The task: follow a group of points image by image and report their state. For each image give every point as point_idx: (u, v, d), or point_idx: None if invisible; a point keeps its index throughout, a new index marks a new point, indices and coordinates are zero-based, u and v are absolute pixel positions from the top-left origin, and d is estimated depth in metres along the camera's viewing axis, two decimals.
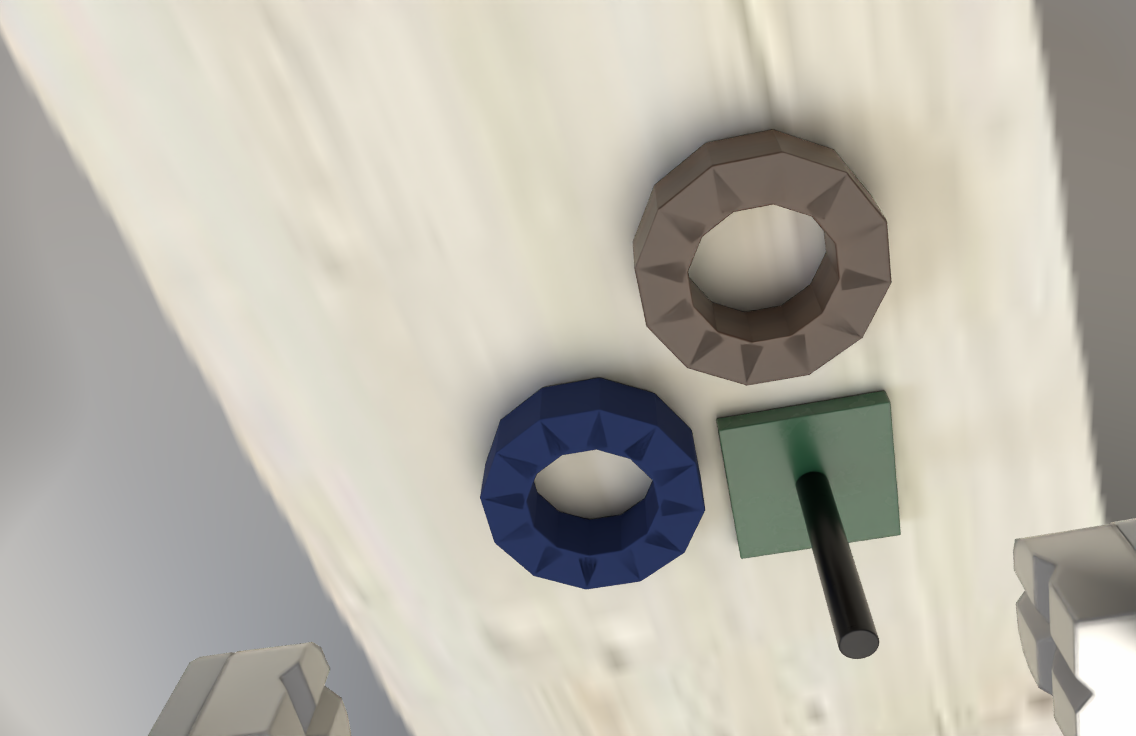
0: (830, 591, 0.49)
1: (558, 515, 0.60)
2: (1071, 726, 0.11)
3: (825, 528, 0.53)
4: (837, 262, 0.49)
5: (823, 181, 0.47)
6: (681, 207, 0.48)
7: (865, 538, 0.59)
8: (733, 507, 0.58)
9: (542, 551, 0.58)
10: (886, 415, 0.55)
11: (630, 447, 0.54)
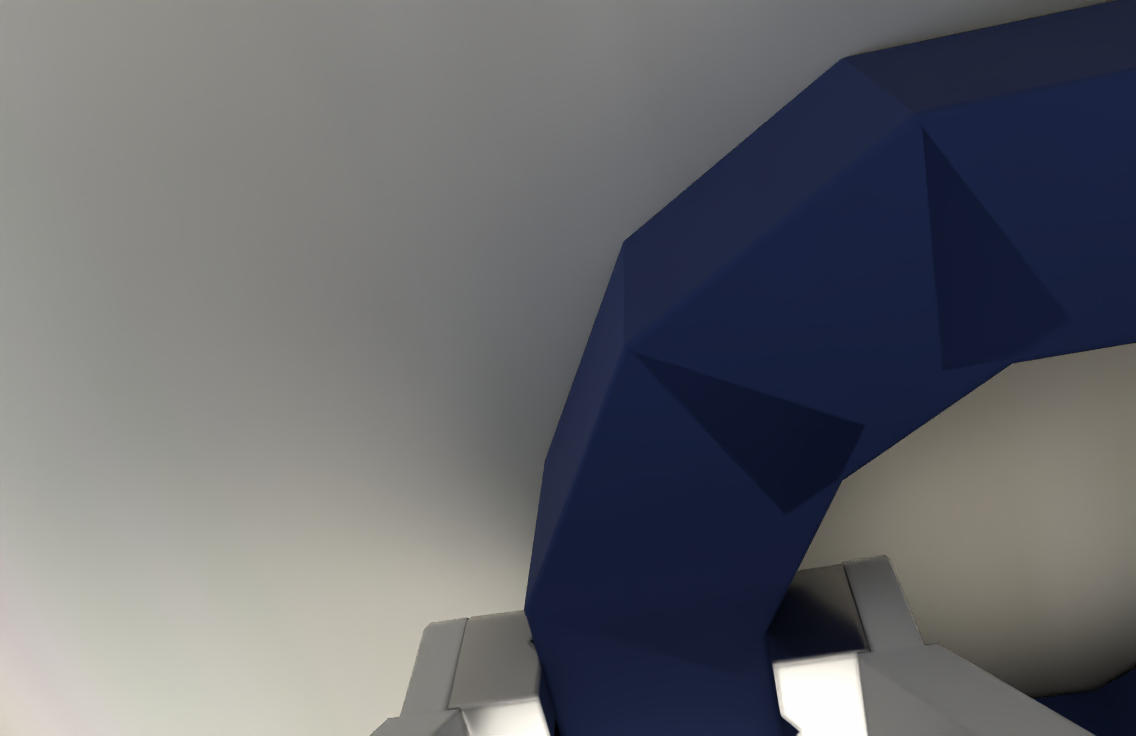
0: None
1: None
2: None
3: None
4: None
5: None
6: None
7: None
8: None
9: None
10: None
11: None
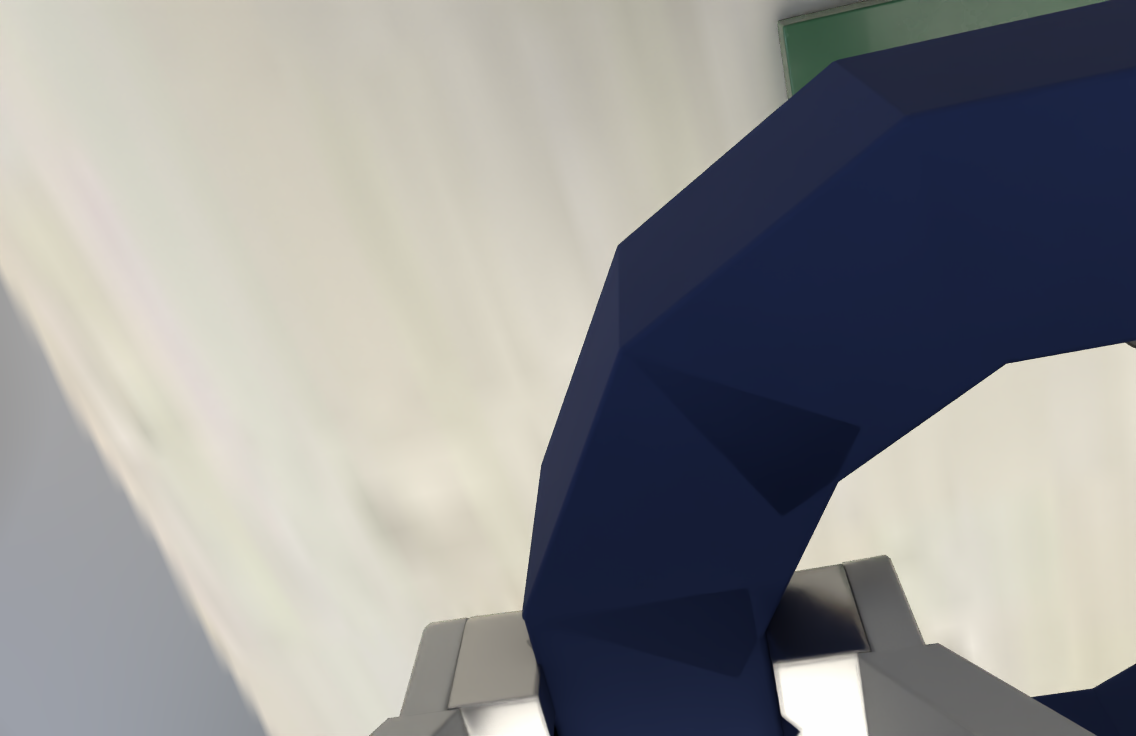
0: None
1: None
2: None
3: None
4: None
5: None
6: None
7: None
8: None
9: None
10: None
11: None
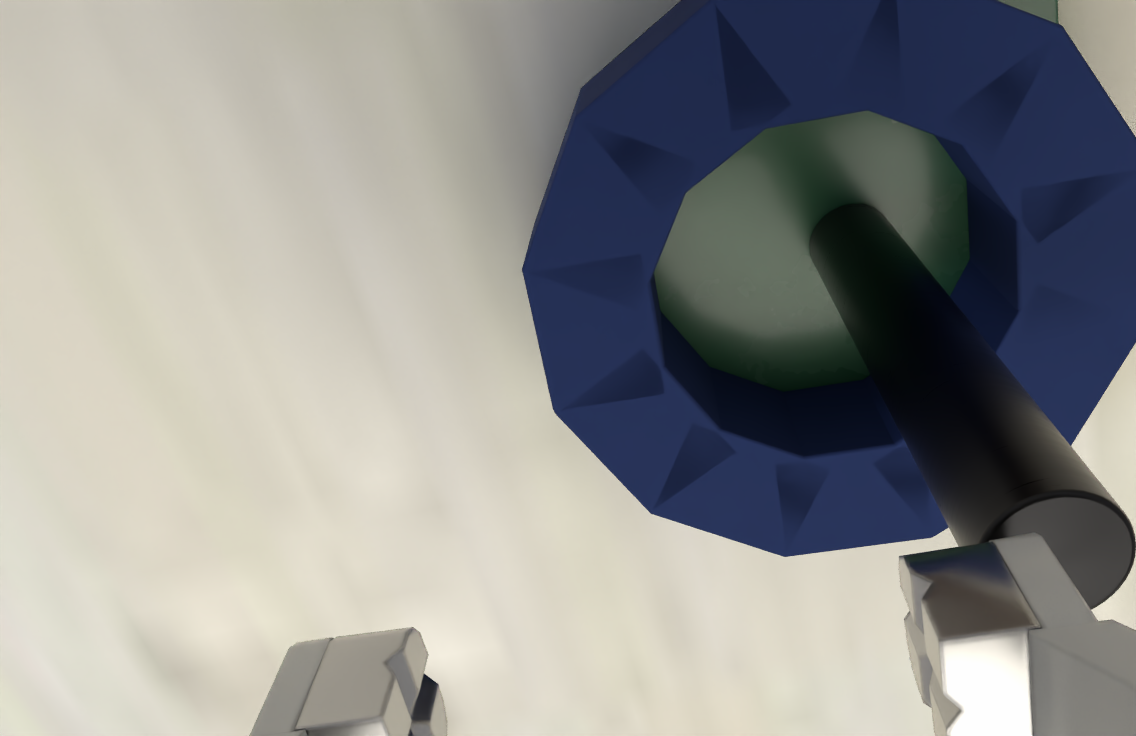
0: (926, 407, 0.15)
1: (709, 371, 0.24)
2: None
3: (895, 280, 0.18)
4: None
5: None
6: None
7: None
8: None
9: (679, 441, 0.22)
10: None
11: (969, 103, 0.19)
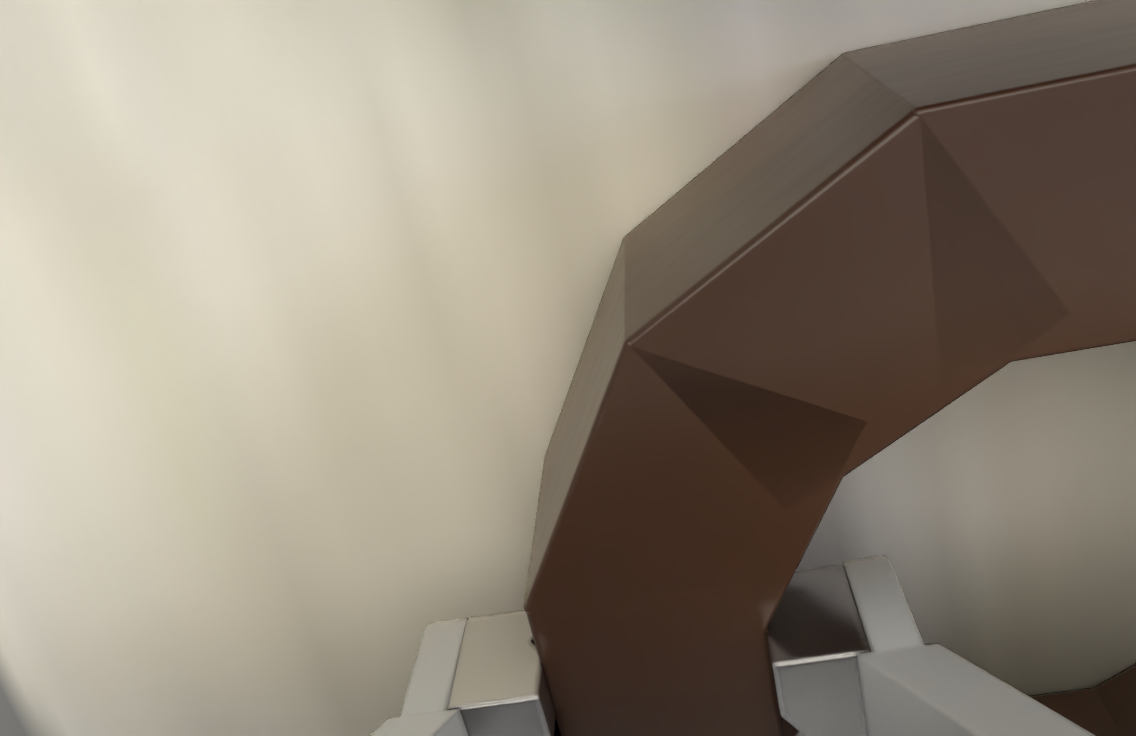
0: None
1: None
2: None
3: None
4: None
5: None
6: None
7: None
8: None
9: None
10: None
11: None
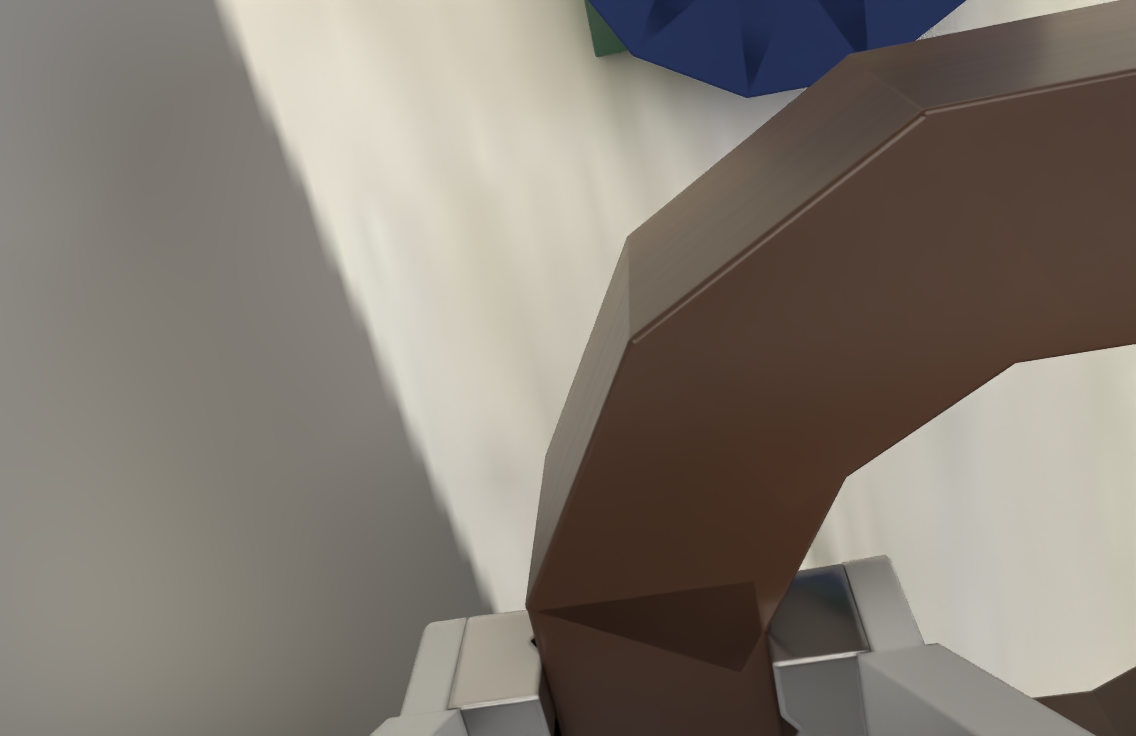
0: None
1: None
2: None
3: None
4: None
5: None
6: None
7: None
8: None
9: None
10: (599, 27, 0.29)
11: (690, 1, 0.26)
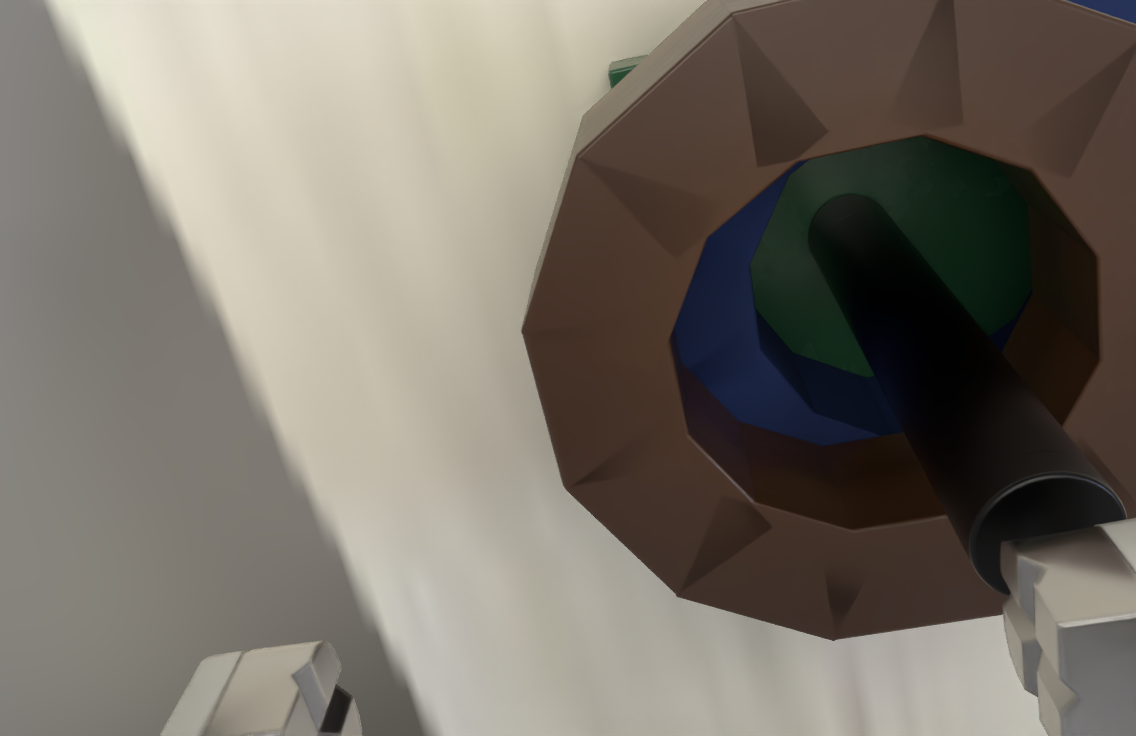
0: None
1: None
2: (1056, 728, 0.11)
3: None
4: (677, 384, 0.18)
5: (733, 580, 0.19)
6: None
7: None
8: None
9: None
10: None
11: None
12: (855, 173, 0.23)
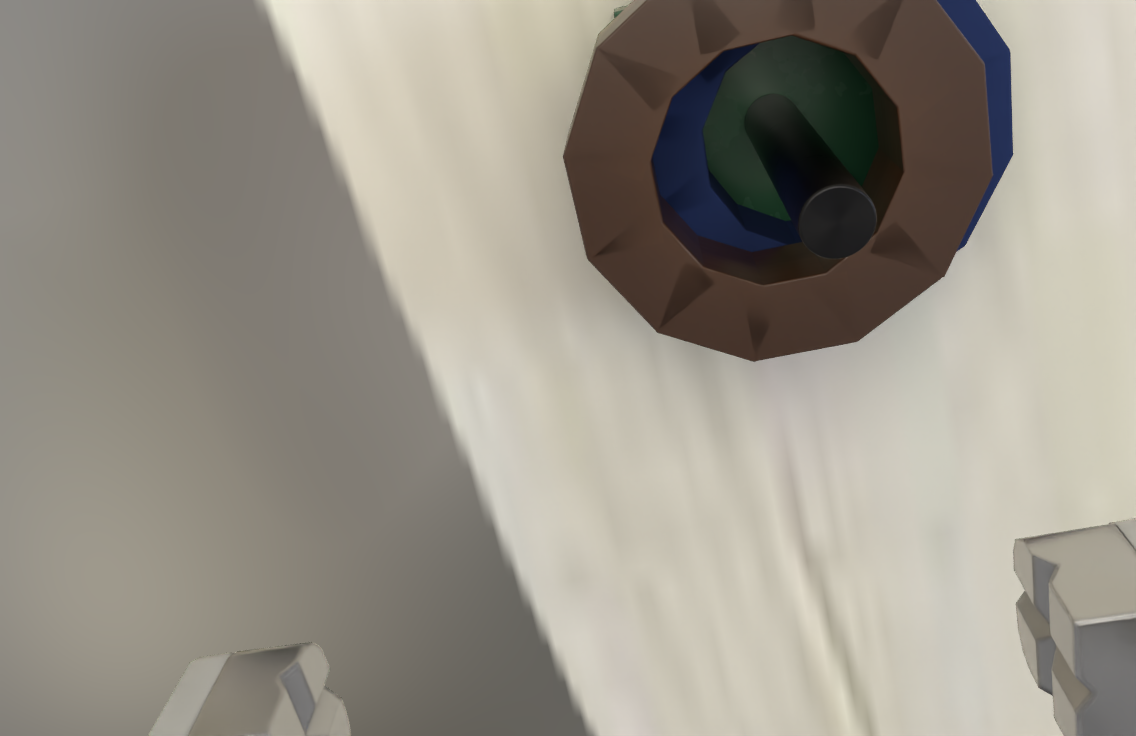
0: None
1: None
2: (1071, 727, 0.11)
3: None
4: (655, 190, 0.30)
5: (691, 320, 0.32)
6: (907, 280, 0.31)
7: None
8: None
9: None
10: None
11: None
12: (774, 79, 0.35)
